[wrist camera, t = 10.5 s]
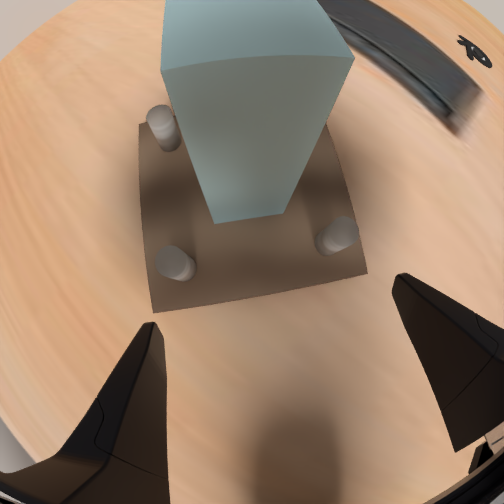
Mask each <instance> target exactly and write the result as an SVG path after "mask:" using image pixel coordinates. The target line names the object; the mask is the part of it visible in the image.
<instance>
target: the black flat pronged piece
mask: <svg viewBox="0 0 504 504" xmlns="http://www.w3.org/2000/svg"><path fill="white" fill-rule="evenodd" d="M459 37H460V38H461V39H462V40H464V41H461V40H458V43H459V44H460V45H464V46H466V50H467V56H468V57H469V59H471V60H472V61H473V60H474V58H473V56H474V57H475V58H476V59H477V60H478V61H479V62H480V63H482V64H483V65H484V66H486V67H488V68H491V67H492V63H491V61H490V60H489V58H488V57H487V56H486V54H485V53H484V52H483V51H482V50H481V49H479V48H478V47H477V46H476V45H474V44H473V43H472V42H470V41H469V40H467V39H466V38H464V37H462V36H461V35H459Z"/></svg>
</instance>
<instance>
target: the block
mask: <svg viewBox="0 0 504 504" xmlns="http://www.w3.org/2000/svg"><path fill="white" fill-rule="evenodd" d="M354 59H355V57H354V55H353V54H352V52H351V50H350V49H349V47H348V46H347V44H346V42H345V41H344V39H343V38H342V36H341V35H340V33H339V31H338V30H337V28H336V27H335V25H334V24H333V23H332V21H331V20H330V18H329V17H328V15H327V14H326V13H325V11H324V10H323V9H322V7H321V6H320V5H319V3H318V2H317V1H316V0H166V2H165V12H164V22H163V34H162V50H161V74H162V77H163V80H164V83H165V86H166V89H167V92H168V95H169V98H170V101H171V104H172V107H173V110H174V113H175V116H176V119H177V122H178V124H179V127H180V130H181V133H182V136H183V139H184V142H185V144H186V147H187V150H188V153H189V156H190V159H191V161H192V164H193V167H194V170H195V173H196V175H197V178H198V181H199V184H200V186H201V189H202V192H203V194H204V197H205V200H206V203H207V205H208V208H209V211H210V213H211V216H212V219H213V221H214V224H218V223H224V222H231V221H237V220H243V219H249V218H256V217H263V216H269V215H276V214H283V213H284V211H285V209H286V207H287V204H288V202H289V200H290V198H291V196H292V194H293V192H294V190H295V187H296V185H297V183H298V181H299V179H300V177H301V175H302V173H303V170H304V168H305V166H306V164H307V162H308V160H309V158H310V155H311V153H312V151H313V149H314V147H315V145H316V142H317V140H318V138H319V136H320V134H321V132H322V130H323V127H324V125H325V123H326V121H327V119H328V116H329V114H330V112H331V110H332V108H333V106H334V103H335V101H336V99H337V97H338V95H339V92H340V90H341V88H342V86H343V84H344V81H345V79H346V77H347V75H348V72H349V70H350V68H351V66H352V64H353V61H354Z"/></svg>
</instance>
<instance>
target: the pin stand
mask: <svg viewBox="0 0 504 504" xmlns="http://www.w3.org/2000/svg"><path fill="white" fill-rule="evenodd" d="M146 119H147V122H146V123H142V124H139V182H140V202H141V217H142V230H143V241H144V250H145V259H146V268H147V275H148V283H149V290H150V296H151V303H152V309H153V313H159V312H166V311H173V310H179V309H186V308H193V307H199V306H205V305H211V304H218V303H224V302H229V301H235V300H241V299H247V298H252V297H258V296H263V295H268V294H274V293H279V292H284V291H289V290H294V289H299V288H304V287H309V286H314V285H319V284H323V283H328V282H333V281H337V280H342V279H346V278H351V277H355V276H360V275H364V274H368V272H367V267H366V262H365V257H364V253H363V248H362V244H361V240H360V235H359V229H358V226H357V223H356V219H355V215H354V212H353V208H352V204H351V200H350V197H349V193H348V190H347V186H346V183H345V180H344V176H343V173H342V170H341V167H340V163H339V160H338V157H337V154H336V151H335V148H334V145H333V142H332V139H331V136H330V134H329V131H328V128H327V125H326V123H325V125H324V127H323V130H322V132H321V134H320V136H319V138H318V140H317V142H316V145H315V147H314V149H313V151H312V153H311V155H310V158H309V160H308V162H307V164H306V166H305V168H304V170H303V173H302V175H301V177H300V179H299V181H298V183H297V185H296V187H295V190H294V192H293V194H292V196H291V198H290V200H289V202H288V204H287V207H286V209H285V211H284V213H283V214H276V215H269V216H263V217H256V218H249V219H243V220H237V221H231V222H224V223H218V224H214V221H213V219H212V216H211V213H210V211H209V208H208V205H207V203H206V200H205V197H204V194H203V192H202V189H201V186H200V184H199V181H198V178H197V175H196V173H195V170H194V167H193V164H192V161H191V159H190V156H189V153H188V150H187V147H186V144H185V142H184V139H183V136H182V133H181V130H180V127H179V124H178V122H177V119H176V116H173V115H172V112H171V109H170V108H169V107H168V106H166V105H158V106H155V107H153V108H152V109H151V110H150V111H149V112H148V113H147V116H146Z"/></svg>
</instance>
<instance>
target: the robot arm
mask: <svg viewBox="0 0 504 504" xmlns="http://www.w3.org/2000/svg"><path fill="white" fill-rule="evenodd" d="M392 296H393V299H394V301H395V304H396V306H397V309H398V311H399V314H400V317H401V319H402V322H403V325H404V327H405V329H406V331H407V334H408V336H409V338H410V340H411V342H412V344H413V346H414V348H415V350H416V353H417V355H418V357H419V359H420V361H421V364H422V366H423V368H424V371H425V373H426V375H427V378H428V380H429V382H430V385H431V387H432V390H433V392H434V395H435V397H436V400H437V402H438V405H439V408H440V410H441V413H442V416H443V419H444V422H445V424H446V427H447V430H448V433H449V436H450V439H451V442H452V445H453V449H454V451H455V453H456V452H458V451H459V450H461V449H463V448H465V447H466V446H468V445H470V444H471V443H473V442H475V441H476V440H478V439H479V438H481V437H482V436H484V437H485V439H486V441H484V442H483V443H482V444H481V445H479V446H478V447H477V448H476V450H475V453H474V456H473V459H472V462H471V465H470V468H469V471H468V473H469V475H468V476H466V477H465V478H464V479H462V480H461V481H459V482H458V483H456V484H455V485H453V486H452V487H450V488H449V489H447V490H446V491H444V492H442V493H441V494H439V495H437V496H436V497H434V498H432V499H431V500H429V501H427V502H425V503H424V504H504V329H502V328H500V327H499V326H497V325H495V324H493V323H491V322H490V321H488V320H486V319H485V318H483V317H481V316H480V315H478V314H477V313H474V312H473V311H472V310H470V309H468V308H467V307H465V306H463V305H462V304H460V303H458V302H457V301H455V300H453V299H452V298H450V297H448V296H447V295H445V294H443V293H441V292H440V291H438V290H436V289H434V288H433V287H431V286H429V285H427V284H426V283H424V282H422V281H420V280H419V279H417V278H415V277H413V276H411V275H410V274H408V273H401V274H398V275H397V276H396V277H395V281H394V284H393V288H392ZM0 491H2V492H3V493H5V494H7V495H9V496H11V497H12V498H14V499H16V500H19V501H20V502H21V503H18V502H15V501H12V500H10V499H7V498H5V497H2V496H0V504H170V493H169V481H168V461H167V373H166V361H165V348H164V338H163V335H162V333H161V332H160V330H159V328H158V326H157V324H156V323H155V322H146V323H144V324H143V325H142V326H141V328H140V329H139V331H138V332H137V334H136V335H135V337H134V338H133V340H132V341H131V343H130V344H129V346H128V347H127V349H126V351H125V352H124V354H123V355H122V357H121V358H120V360H119V361H118V363H117V365H116V366H115V368H114V369H113V371H112V372H111V374H110V376H109V377H108V379H107V380H106V382H105V384H104V385H103V387H102V388H101V390H100V392H99V393H98V395H97V397H96V398H95V400H94V401H93V403H92V405H91V406H90V408H89V410H88V411H87V413H86V414H85V416H84V417H83V419H82V420H81V421H80V423H79V424H78V426H77V427H76V428H75V430H74V431H73V433H72V434H71V435H70V437H69V438H68V439H67V441H66V442H65V444H64V445H63V446H62V448H61V449H60V450H59V451H58V452H57V453H56V454H55V455H53V456H52V457H50V458H48V459H46V460H44V461H41V462H39V463H36V464H34V465H32V466H29V467H27V468H24V469H22V470H19V471H16V472H13V473H3V472H1V471H0Z"/></svg>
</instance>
